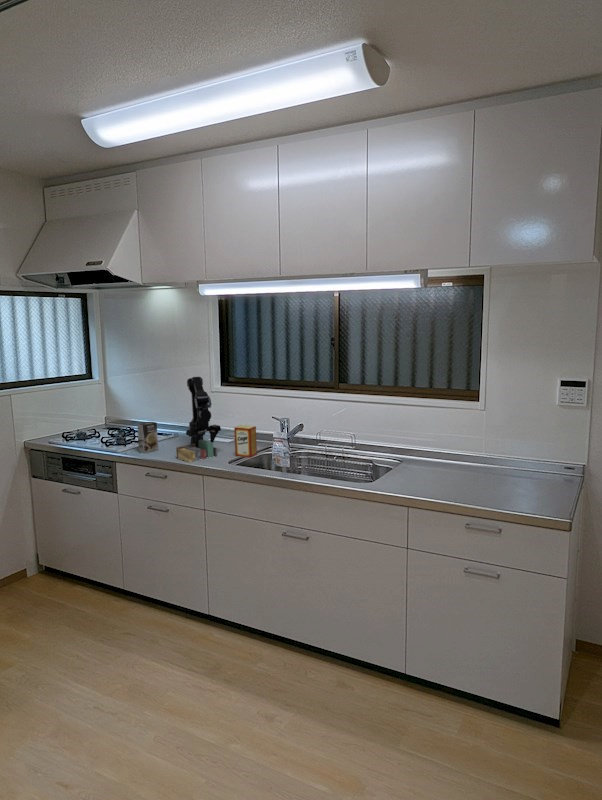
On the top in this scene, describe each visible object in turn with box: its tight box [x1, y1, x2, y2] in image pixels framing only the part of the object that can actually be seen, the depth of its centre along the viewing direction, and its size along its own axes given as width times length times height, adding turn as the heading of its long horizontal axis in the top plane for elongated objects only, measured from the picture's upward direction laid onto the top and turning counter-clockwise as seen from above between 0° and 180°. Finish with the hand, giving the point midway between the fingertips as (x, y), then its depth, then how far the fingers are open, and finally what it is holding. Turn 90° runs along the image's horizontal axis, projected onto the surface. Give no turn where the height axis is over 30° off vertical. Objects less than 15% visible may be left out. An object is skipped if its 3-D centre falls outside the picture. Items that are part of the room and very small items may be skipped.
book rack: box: [175, 443, 218, 463], centre depth 299 cm, size 17×12×6 cm
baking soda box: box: [234, 424, 258, 458], centre depth 300 cm, size 10×6×16 cm
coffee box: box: [137, 421, 159, 454], centre depth 315 cm, size 9×6×16 cm
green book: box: [196, 439, 215, 459], centre depth 302 cm, size 4×11×8 cm, turn 44°
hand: (204, 445), depth 302 cm, fingers open, 9 cm apart
